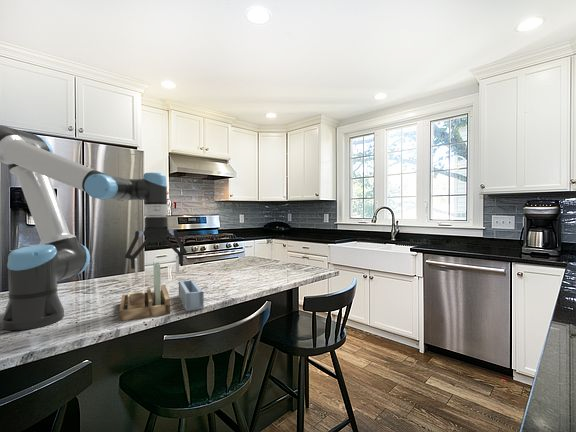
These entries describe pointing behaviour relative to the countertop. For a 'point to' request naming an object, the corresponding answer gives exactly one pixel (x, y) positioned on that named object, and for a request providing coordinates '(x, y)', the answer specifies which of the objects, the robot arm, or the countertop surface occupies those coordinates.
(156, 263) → the sheet
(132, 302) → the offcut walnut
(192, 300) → the stand
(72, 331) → the countertop surface
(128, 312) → the rack
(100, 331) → the countertop surface
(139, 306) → the offcut oak
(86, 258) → the robot arm
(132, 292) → the offcut pine
